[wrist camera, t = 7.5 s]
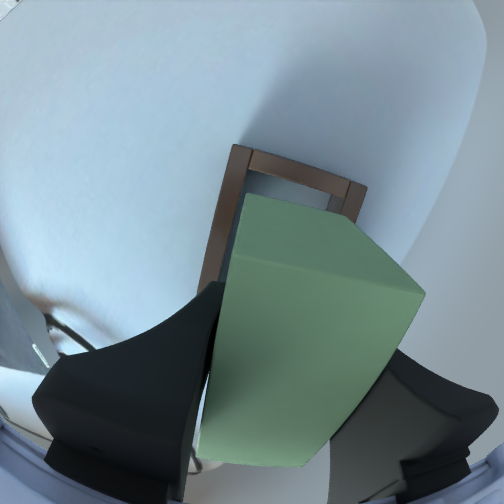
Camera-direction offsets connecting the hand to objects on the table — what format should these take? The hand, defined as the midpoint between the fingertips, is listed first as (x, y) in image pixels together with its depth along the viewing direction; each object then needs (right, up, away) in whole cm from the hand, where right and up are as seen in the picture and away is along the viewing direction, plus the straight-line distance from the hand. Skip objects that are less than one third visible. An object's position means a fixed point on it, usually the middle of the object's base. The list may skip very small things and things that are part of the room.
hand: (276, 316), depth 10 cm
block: (0, +1, +2) cm, 2 cm away
